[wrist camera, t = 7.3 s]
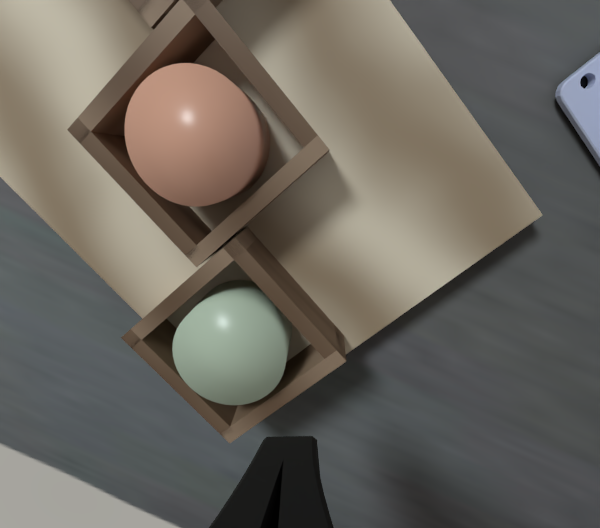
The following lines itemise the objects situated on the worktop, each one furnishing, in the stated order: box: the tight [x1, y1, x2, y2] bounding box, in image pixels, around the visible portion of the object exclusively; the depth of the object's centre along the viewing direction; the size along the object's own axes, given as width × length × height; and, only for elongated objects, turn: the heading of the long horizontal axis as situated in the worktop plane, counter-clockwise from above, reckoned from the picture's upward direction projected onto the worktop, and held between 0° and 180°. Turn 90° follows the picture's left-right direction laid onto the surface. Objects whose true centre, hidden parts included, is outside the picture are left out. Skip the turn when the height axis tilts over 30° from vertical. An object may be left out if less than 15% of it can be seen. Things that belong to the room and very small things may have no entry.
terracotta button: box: [125, 63, 270, 207], centre depth 13 cm, size 4×4×3 cm
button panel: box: [0, 0, 542, 443], centre depth 14 cm, size 16×21×3 cm
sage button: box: [172, 280, 292, 405], centre depth 15 cm, size 4×4×3 cm
